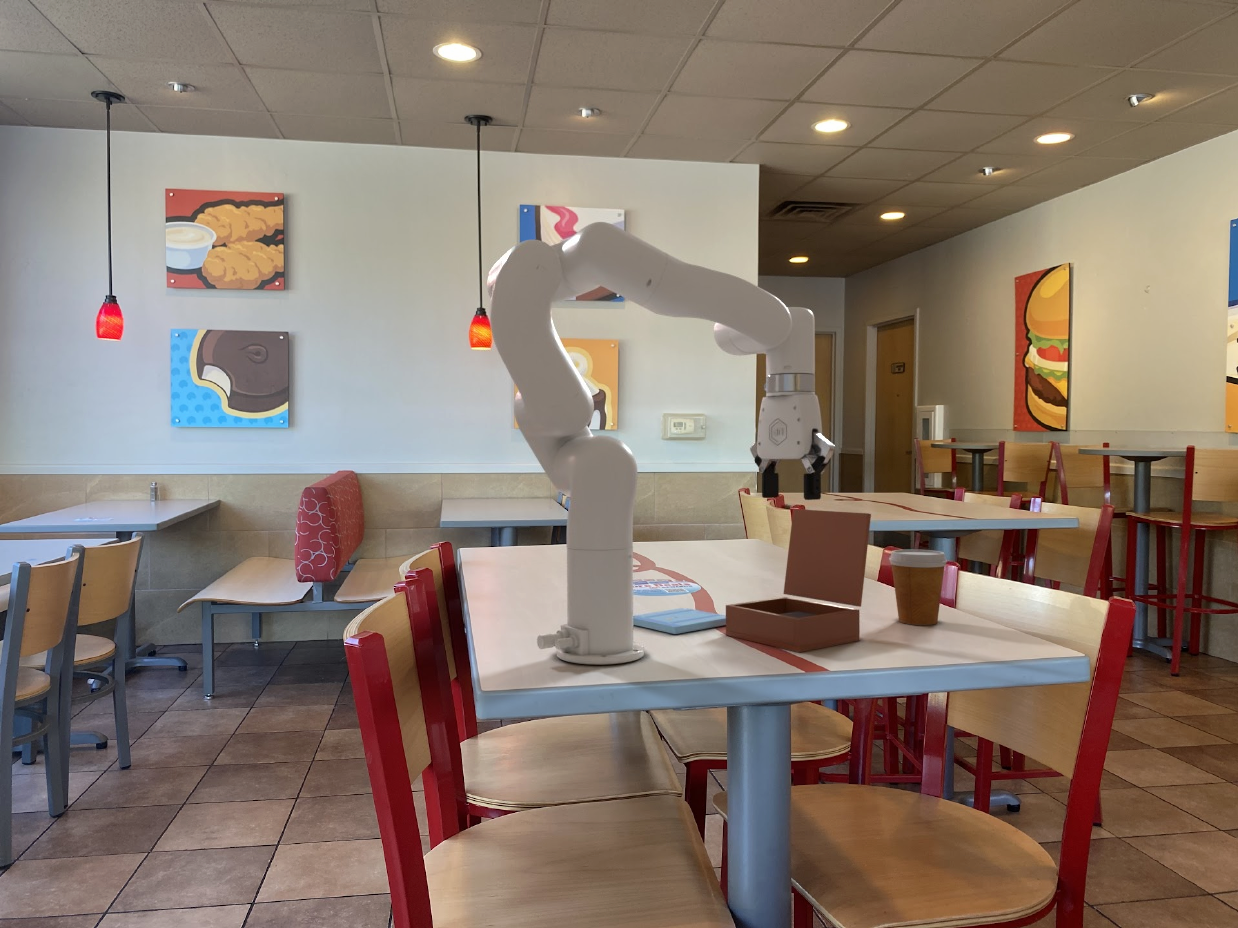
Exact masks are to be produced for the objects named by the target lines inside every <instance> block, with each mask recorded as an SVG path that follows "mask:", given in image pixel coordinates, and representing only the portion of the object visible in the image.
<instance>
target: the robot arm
mask: <svg viewBox="0 0 1238 928" xmlns="http://www.w3.org/2000/svg"><path fill="white" fill-rule="evenodd" d="M486 286H487V287H486V288H487V293H488V296H489V298H490V304H489V305H490V306H489V321H490V330H491V335H492V338H493V341H494V344H495V347H496V350H497V352H498V355H499V357H500V359H501V360H502V362H503V364H504V365H505V368H506V369H507V372H508V373H509V375H510V378H511V379H512V381H513V383H514V385H515V387H516V388H517V391H516V394H515V396H514V400H513V414H514V418H515V421H516V424H517V427H518V428H519V431H520V432H521V434H522V436H523V437H524V440H525V441H526V443H527V444H528V446H529V448H530V449H531V451H532V453H533V454H534V456H535V458H536V460H537V461H538V463H539V464H540V466H541V468H542V470H543V471H544V473H545V474H546V476H547V478H548V479H549V481H550V482H551V483H552V485H553V486H554V487H555V488H556V490H558V492H560V494H562V495H564V496H566V497H569V505H568V509H567V510H568V511H567V519H566V592H567V593H566V623H565V624H560V629H559V630H557V631H556V632H555V633H546V634H540V635H538V636H537V638H536V644H537V647H538V649H540V650H545V649H552V648H555V649H556V656H557V658H558V659H560V660H563V661H565V662H568V663H574V664H579V665H581V664H582V665H597V666H599V665H600V666H601V665H616V664H617V665H618V664H624V663H631V662H633V661H637V660H639V659H641V658H643V657H644V655H645V647H644V645H643V644H641V643H640V642H636V641H634V625H633V616H634V545H633V544H634V542H633V541H634V539H633V536H634V534H633V533H634V531H633V530H634V510H635V508H634V507H635V501H636V496H637V495H636V493H637V487H638V477H639V476H638V475H639V474H638V473H639V472H638V464H637V460H636V458H635V455H634V453H633V452H632V450H631V449H630V448H629V447H628V446H627V444H625V442H623V441H622V440H620V439H618V438H617V437H613V436H611V435H605V434H604V435H603V434H601V435H600V434H597V435H593V433H592V431H591V430H590V428H589V426H588V425H589V424H590V423H591V421H592V419H593V416H594V412H595V402H594V398H593V395H592V393H591V391H590V389H589V387H588V386H587V384H586V382H585V381H584V379H583V376H581V374H580V372H579V370H578V369H577V367H576V366H575V364H574V362H573V360H572V358H571V357H570V355H569V353H568V351H567V350H566V348H565V347H564V345H563V342H562V340H561V338H560V336H559V334H558V332H557V330H556V328H555V324H554V321H553V315H552V314H553V311H552V310H553V309H552V307H553V305H556V304H558V303H561V302H565V301H567V300H570V299H574V298H576V297H579V296H581V295H584V294H587V293H589V292H591V291H595V290H596V289H598V288H599V287H603V288H605V289H606V290H608V291H610V292H612V293H615V294H616V295H618V296H621V297H622V298H625V299H626V300H628V301H630V302H632V303H634V304H636V305H638V306H640V307H642V308H644V309H646V310H648V311H649V312H652V313H654V314H656V315H660V316H664V317H670V318H671V317H672V318H687V319H688V318H689V319H700V320H705V321H709V322H713V323H715V324H714V326H713V338H714V341H715V343H716V344H717V346H718V347H719V348H720V349H721V350H722V351H723V352H725V353H727V354H729V355H733V356H739V357H740V356H749V355H750V356H751V355H760V354H761V355H762V354H764V355H765V380H766V381H765V383H764V384H763V389H764V391H765V393H766V394H765V396H763V397H762V400H761V403H760V408H759V409H760V410H759V416H758V424H757V440H756V441H755V442H754V443H753V444H752V445H751V446H750V448H749V450H750V454H751V455H752V457H753V459H754V464H755V465H756V466H757V467H758V472H759V473H760V474H761V497H762V498H763V499H773V498H778V497H779V496H780V493H779V491H780V489H779V488H780V487H779V486H780V483H779V482H780V480H779V477H780V476H779V472H776V471H777V470H778V467H779V465H780V463H781V461H782V460H800V461H801V463H802V465H803V467H804V469H805V471H806V472H807V473H803V499H804V500H805V501H815V500H818V501H819V500H821V498H822V474H824V473H825V469H826V468H827V466H828V464H830V462H831V458H832V456H833V454H834V452H835V450H836V446H835V444H834V443H832V442H831V441H830V440H828V439H827V438H826V437H825V436H824V435H823V424H822V415H821V407H820V402H819V398H818V395H817V394H816V374H815V372H816V351H815V350H816V337H815V336H816V335H815V334H816V329H815V328H816V327H815V326H816V325H815V324H816V323H815V322H816V321H815V315H814V312H813V311H812V310H810V309H809V308H806V307H801V306H786V304H785V303H784V302H783V301H782V300H780V298H778V297H777V296H776V295H774V294H772V293H771V292H769V291H767V290H765V289H763V288H761V287H759V286H758V285H755V284H754V283H752V282H750V281H748V280H746V279H744V278H742V277H739V276H736V275H733V274H730V273H726V272H722V271H718V270H714V269H711V268H708V267H705V266H700V265H697V264H691V263H688V262H685V261H683V260H681V259H679V258H676V257H675V256H673V255H670V254H669V253H667V252H665V251H663V250H661V249H660V248H657V246H654V245H652V244H650V243H648V242H647V241H644V240H643V239H641V238H639V237H637V236H636V235H634V234H632V233H630V232H628V231H626V230H624V229H623V228H621V227H619V226H617V225H615V224H612V223H609V222H606V221H596V222H592V223H589V224H588V225H586V226H584V227H583V228H581V229H580V230H578V231H577V232H575V234H573V235H572V236H571V237H569V238H567V239H565V240H562V241H560V242H558V243H554V244H552V245H550V244H549V243H547V242H545V241H543V240H539V239H526V240H523V241H520V242H518V243H517V244H515V245H514V246H512V247H510V249H509V250H507V251H506V252H505V253H504V255H502V257H500V258H499V260H497V261H496V263H495V264H494V265H493V266H492V267H491V269H490V270H489V272H488V276H487V281H486Z"/></svg>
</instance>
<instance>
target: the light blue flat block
mask: <svg viewBox="0 0 1238 928" xmlns="http://www.w3.org/2000/svg"><path fill="white" fill-rule="evenodd" d="M633 626H637V627H641V628H647V629H651V630H656V631H660V632H664V633H669V634H674V635H677V634H683V633H688V632H695V631H699V630H700V631H701V630H706V629H710V628H716V627H721V626H726V614H725V615H724V614H720V613H718V614H717V613H715V612H708V611H705V610H704V611H703V610H698V609H693V608H683V607H680V608H674V609H667V610H662V611H660V610H659V611H655V612H648V613H641V614H636V615H635V614H634V615H633Z"/></svg>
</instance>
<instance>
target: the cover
mask: <svg viewBox="0 0 1238 928" xmlns="http://www.w3.org/2000/svg"><path fill="white" fill-rule="evenodd" d="M871 519H872V513H867V512H853V511H850V512H849V511H835V510H834V511H832V510H817V509H801V508H800V509H799V508H793V509H792V518H791V526H790V534H789V544H788V551H787V559H786V568H785V577H784V585H783V595H787V596H793V597H798V598H805V599H810V600H817V601H823V602H829V603H835V604H841V605H846V606H853V607H859V608H861V607H862V602H863V595H864V594H863V592H864V583H865V574H866V564H867V558H868V557H867V555H868V546H869V539H870V527H871Z"/></svg>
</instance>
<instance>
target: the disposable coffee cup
mask: <svg viewBox="0 0 1238 928" xmlns="http://www.w3.org/2000/svg"><path fill="white" fill-rule="evenodd" d="M888 561H889V563H890V565H891V570H892V576H893V578H892V579H893V586H894V591H895V592H894V593H895V594H894V595H895V601H896V609H897V616H898V617H897V618H898V621H899V622H900V623H903V624H907V625H913V626H914V625H915V626H932V625H937V624H938V621H939V613H940V605H941V597H942V591H943V590H942V589H943V581H944V574H945V566H947V563H948V559H947V558H946V554H945V552H943V551H939V550H933V549H931V550H930V549H895V550H892V551H891V552H890V557H889V558H888Z"/></svg>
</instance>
